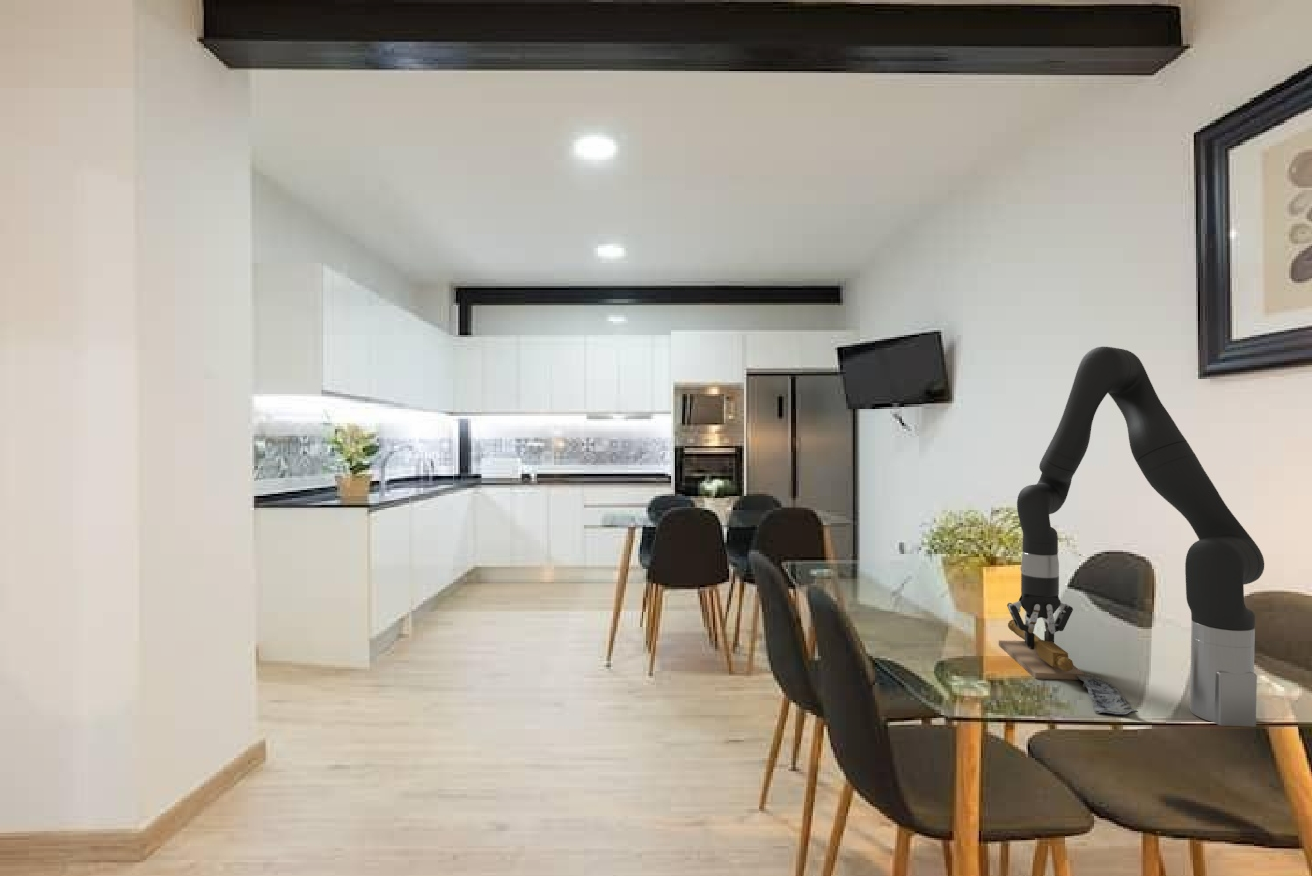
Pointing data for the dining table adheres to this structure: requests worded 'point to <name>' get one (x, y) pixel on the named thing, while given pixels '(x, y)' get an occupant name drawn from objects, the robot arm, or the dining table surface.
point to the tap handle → (1046, 650)
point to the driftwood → (1105, 696)
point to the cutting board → (1036, 662)
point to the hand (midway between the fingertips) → (1039, 648)
